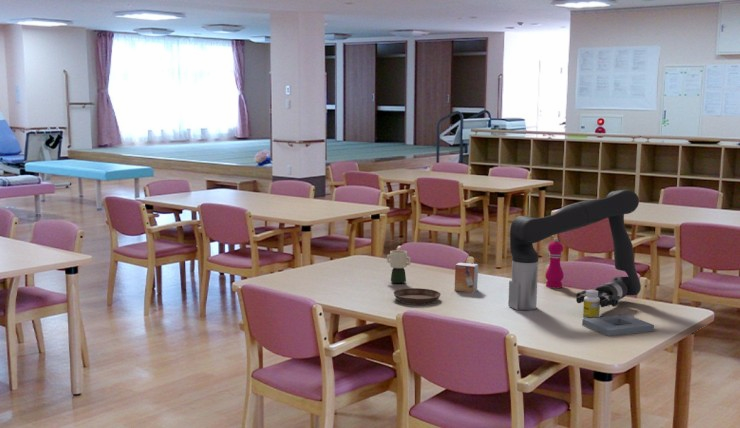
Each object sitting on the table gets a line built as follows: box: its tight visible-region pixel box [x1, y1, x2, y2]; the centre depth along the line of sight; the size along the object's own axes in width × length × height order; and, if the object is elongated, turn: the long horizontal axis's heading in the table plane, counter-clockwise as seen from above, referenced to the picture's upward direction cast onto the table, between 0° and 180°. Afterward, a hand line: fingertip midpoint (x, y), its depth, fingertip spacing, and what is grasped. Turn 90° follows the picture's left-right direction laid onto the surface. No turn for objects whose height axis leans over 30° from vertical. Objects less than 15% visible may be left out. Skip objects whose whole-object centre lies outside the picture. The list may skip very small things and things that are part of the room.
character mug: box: [386, 249, 412, 284], centre depth 335 cm, size 11×7×13 cm, turn 59°
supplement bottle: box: [582, 289, 601, 319], centre depth 283 cm, size 5×5×10 cm
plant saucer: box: [393, 287, 442, 306], centre depth 307 cm, size 18×18×3 cm
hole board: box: [581, 314, 655, 337], centre depth 272 cm, size 18×14×2 cm
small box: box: [454, 262, 479, 293], centre depth 323 cm, size 8×6×10 cm
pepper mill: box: [544, 237, 564, 289], centre depth 330 cm, size 7×7×20 cm
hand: (589, 302), depth 281 cm, fingers open, 8 cm apart
